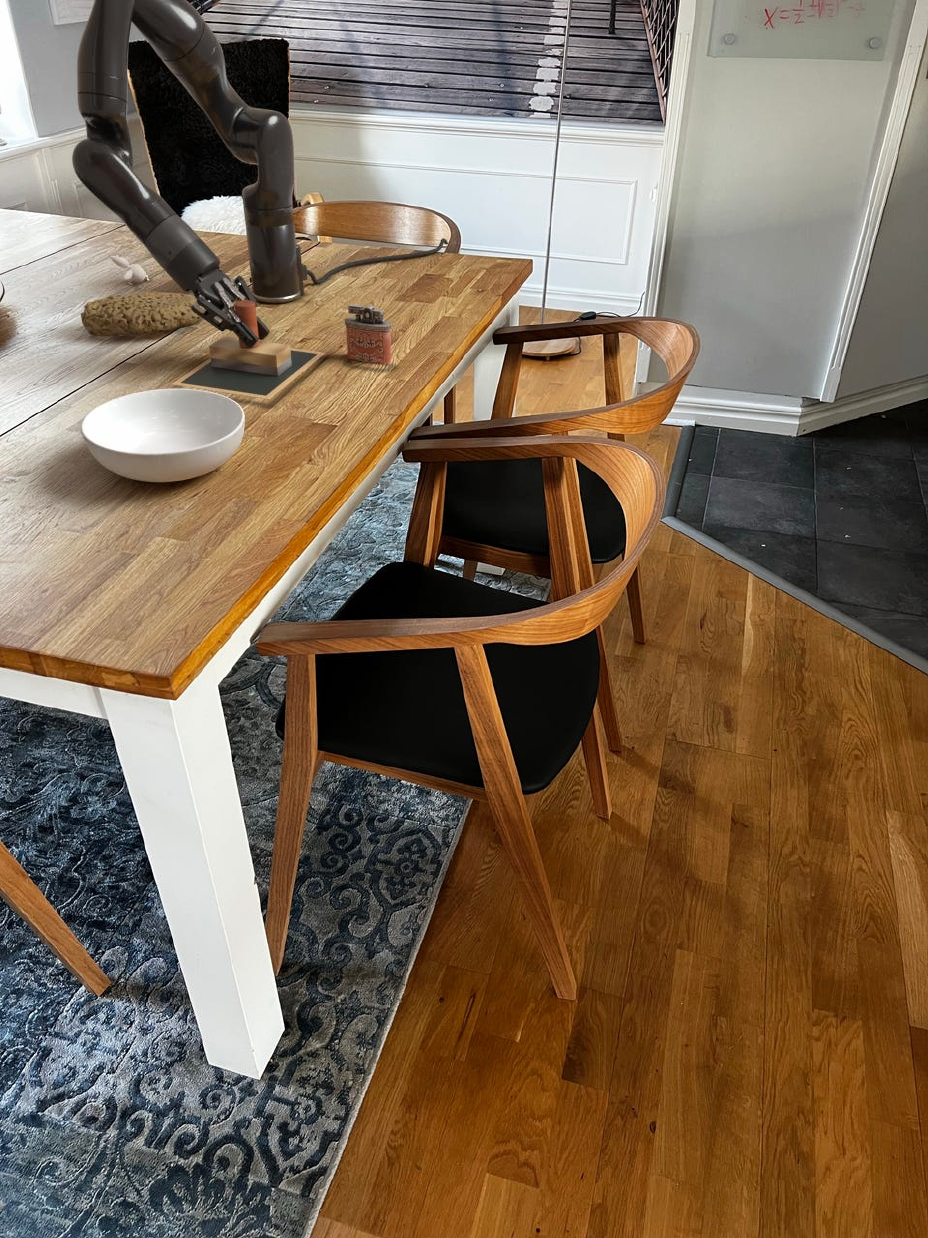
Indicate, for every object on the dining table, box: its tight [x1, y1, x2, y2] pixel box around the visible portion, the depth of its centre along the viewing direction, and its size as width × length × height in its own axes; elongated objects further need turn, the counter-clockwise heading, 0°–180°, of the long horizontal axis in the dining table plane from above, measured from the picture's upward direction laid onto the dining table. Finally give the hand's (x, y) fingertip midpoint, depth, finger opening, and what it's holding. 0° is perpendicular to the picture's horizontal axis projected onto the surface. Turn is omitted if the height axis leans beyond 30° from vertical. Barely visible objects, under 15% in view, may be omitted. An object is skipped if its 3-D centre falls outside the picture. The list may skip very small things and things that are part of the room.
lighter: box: [344, 303, 393, 372], centre depth 157 cm, size 8×3×10 cm, turn 71°
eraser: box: [208, 299, 292, 376], centre depth 153 cm, size 12×5×10 cm, turn 72°
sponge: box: [80, 291, 204, 337], centre depth 170 cm, size 13×8×20 cm
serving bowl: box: [80, 388, 246, 483], centre depth 127 cm, size 21×21×7 cm
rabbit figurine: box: [110, 255, 150, 286], centre depth 193 cm, size 6×4×8 cm
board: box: [171, 347, 326, 400], centre depth 156 cm, size 21×17×1 cm
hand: (260, 339), depth 153 cm, fingers closed on eraser, 3 cm apart
